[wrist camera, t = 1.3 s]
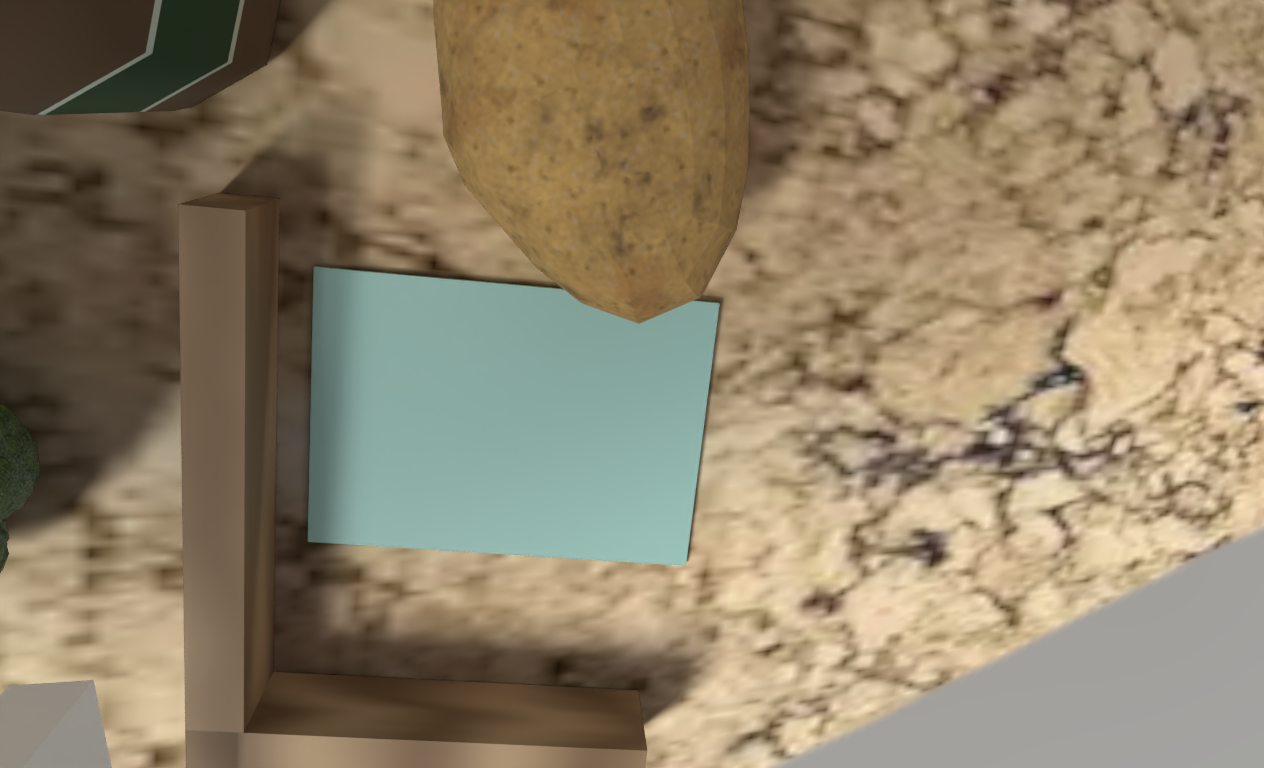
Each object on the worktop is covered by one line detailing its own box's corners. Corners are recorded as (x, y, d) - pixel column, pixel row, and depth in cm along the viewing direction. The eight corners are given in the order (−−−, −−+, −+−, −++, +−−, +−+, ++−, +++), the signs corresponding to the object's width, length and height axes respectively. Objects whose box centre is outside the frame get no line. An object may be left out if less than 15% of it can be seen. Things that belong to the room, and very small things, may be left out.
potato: (516, 326, 37) (506, 386, 29) (391, -81, 33) (342, -135, 25) (774, 255, 37) (832, 295, 29) (680, -161, 33) (719, -239, 25)
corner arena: (221, 713, 40) (186, 778, 36) (219, 192, 35) (178, 204, 31) (633, 732, 42) (641, 796, 38) (692, 237, 36) (708, 254, 33)
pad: (308, 539, 38) (307, 541, 38) (315, 266, 36) (313, 267, 35) (685, 563, 40) (685, 565, 40) (718, 302, 37) (719, 303, 37)
